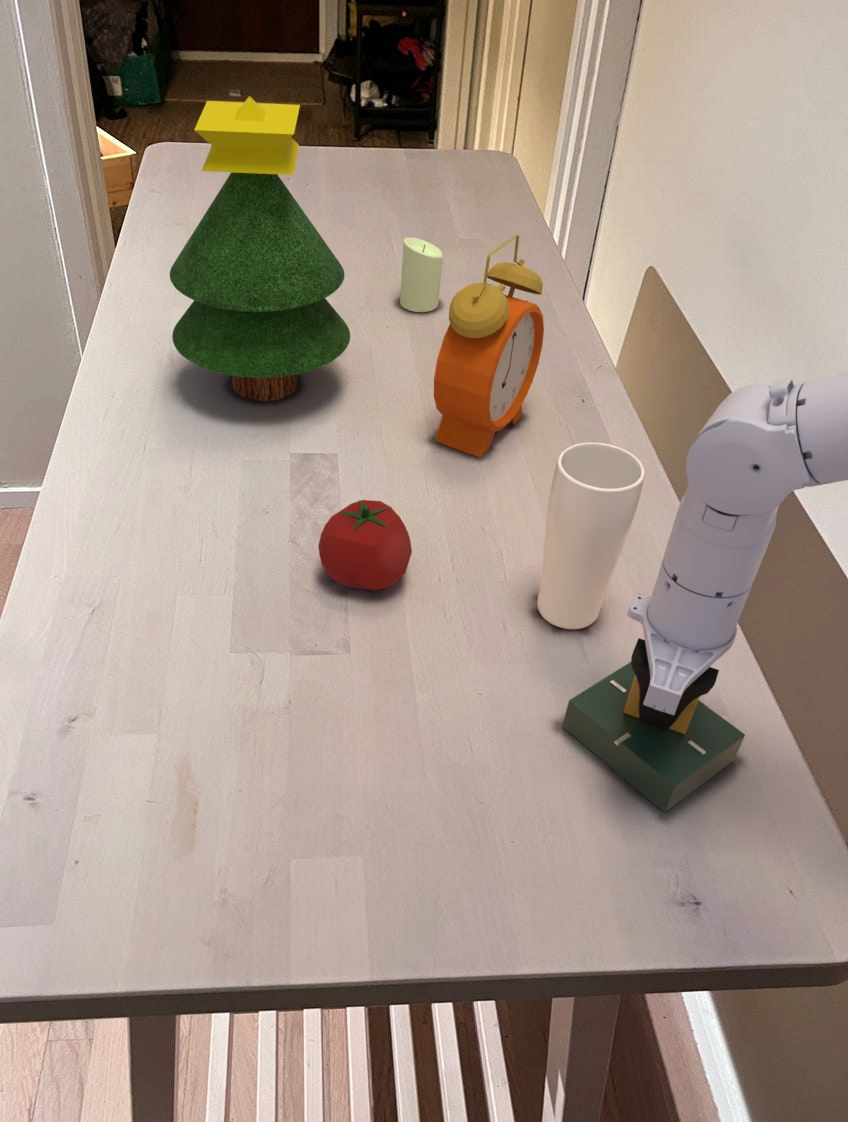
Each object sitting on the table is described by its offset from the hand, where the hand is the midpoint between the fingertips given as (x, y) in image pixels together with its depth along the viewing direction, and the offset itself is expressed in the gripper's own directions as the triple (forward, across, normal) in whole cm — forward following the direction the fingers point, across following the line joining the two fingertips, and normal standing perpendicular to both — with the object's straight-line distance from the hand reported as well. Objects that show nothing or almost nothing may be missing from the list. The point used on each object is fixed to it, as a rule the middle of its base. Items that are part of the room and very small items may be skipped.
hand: (657, 712), depth 73 cm
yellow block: (0, 0, 0) cm, 0 cm away
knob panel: (+3, 0, 0) cm, 3 cm away
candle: (+4, -60, -45) cm, 75 cm away
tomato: (+4, -8, -27) cm, 29 cm away
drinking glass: (+4, -12, -10) cm, 16 cm away
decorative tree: (+4, -33, -52) cm, 61 cm away
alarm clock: (+4, -36, -27) cm, 45 cm away
